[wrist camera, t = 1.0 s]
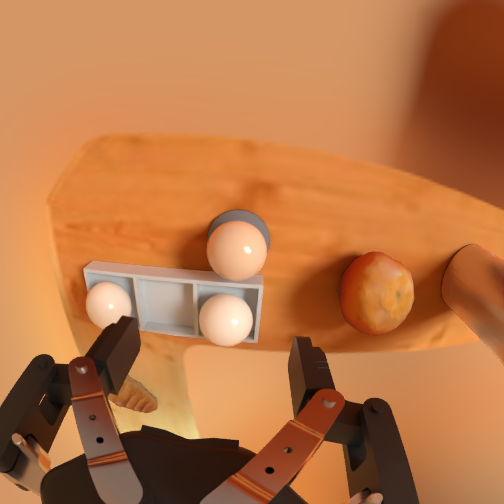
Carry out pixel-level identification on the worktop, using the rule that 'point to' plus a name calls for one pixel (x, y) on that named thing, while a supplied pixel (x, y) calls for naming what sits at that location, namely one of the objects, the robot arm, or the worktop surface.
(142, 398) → the pastry
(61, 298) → the worktop surface
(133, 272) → the carton
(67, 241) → the worktop surface
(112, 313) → the egg
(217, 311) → the egg
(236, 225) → the pale pink ball
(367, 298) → the fruit
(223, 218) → the mat
